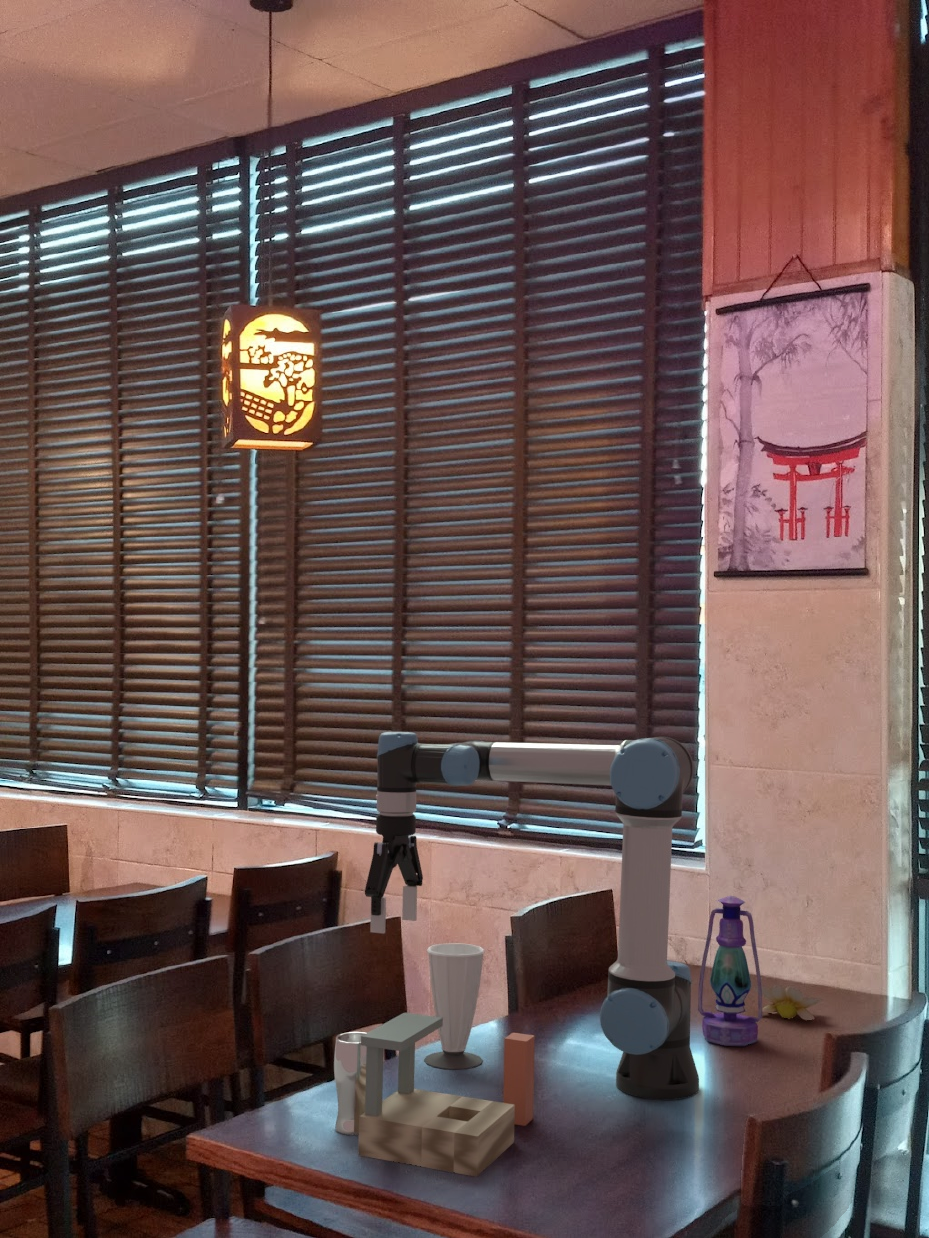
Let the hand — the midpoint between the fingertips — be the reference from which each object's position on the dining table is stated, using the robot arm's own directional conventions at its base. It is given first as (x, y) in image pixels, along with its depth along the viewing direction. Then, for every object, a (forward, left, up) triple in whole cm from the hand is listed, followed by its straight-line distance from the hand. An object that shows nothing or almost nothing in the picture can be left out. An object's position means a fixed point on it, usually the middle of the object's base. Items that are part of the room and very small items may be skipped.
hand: (393, 926), depth 249 cm
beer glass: (-8, +30, -28) cm, 42 cm away
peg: (-31, +14, -27) cm, 44 cm away
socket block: (-24, +32, -27) cm, 48 cm away
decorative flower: (-63, -76, -28) cm, 102 cm away
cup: (-8, -12, -28) cm, 31 cm away
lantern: (-54, -51, -28) cm, 79 cm away
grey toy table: (-17, +32, -21) cm, 42 cm away
